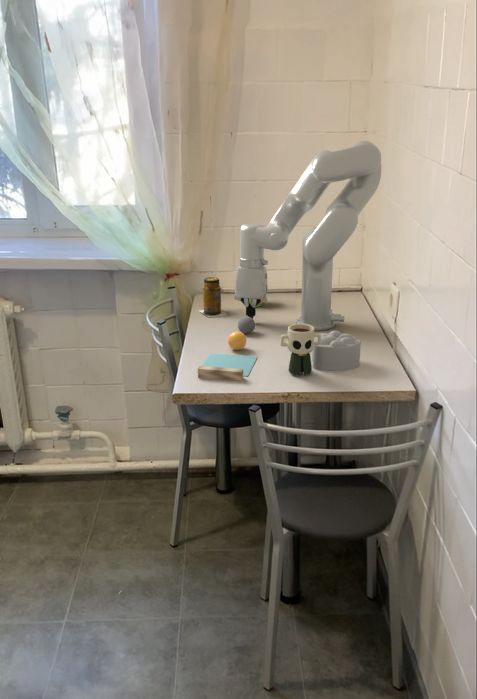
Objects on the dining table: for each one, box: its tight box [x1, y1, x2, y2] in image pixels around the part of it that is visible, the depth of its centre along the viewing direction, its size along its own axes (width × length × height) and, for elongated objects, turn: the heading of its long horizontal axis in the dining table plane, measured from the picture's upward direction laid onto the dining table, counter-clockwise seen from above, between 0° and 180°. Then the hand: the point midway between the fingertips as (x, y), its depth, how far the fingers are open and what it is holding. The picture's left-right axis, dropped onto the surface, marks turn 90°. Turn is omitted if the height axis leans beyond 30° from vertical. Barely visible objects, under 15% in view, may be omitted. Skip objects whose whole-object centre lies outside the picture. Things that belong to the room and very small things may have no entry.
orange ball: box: [227, 330, 247, 351], centre depth 195 cm, size 6×6×6 cm
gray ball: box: [237, 315, 256, 335], centre depth 208 cm, size 6×6×6 cm
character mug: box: [280, 323, 322, 376], centre depth 177 cm, size 11×7×13 cm, turn 94°
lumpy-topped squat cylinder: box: [311, 330, 361, 373], centre depth 183 cm, size 10×13×9 cm
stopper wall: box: [197, 365, 244, 382], centre depth 177 cm, size 12×2×2 cm, turn 78°
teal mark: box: [196, 352, 258, 377], centre depth 185 cm, size 14×14×1 cm
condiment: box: [198, 276, 228, 318], centre depth 226 cm, size 7×8×12 cm
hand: (250, 317), depth 217 cm, fingers closed
